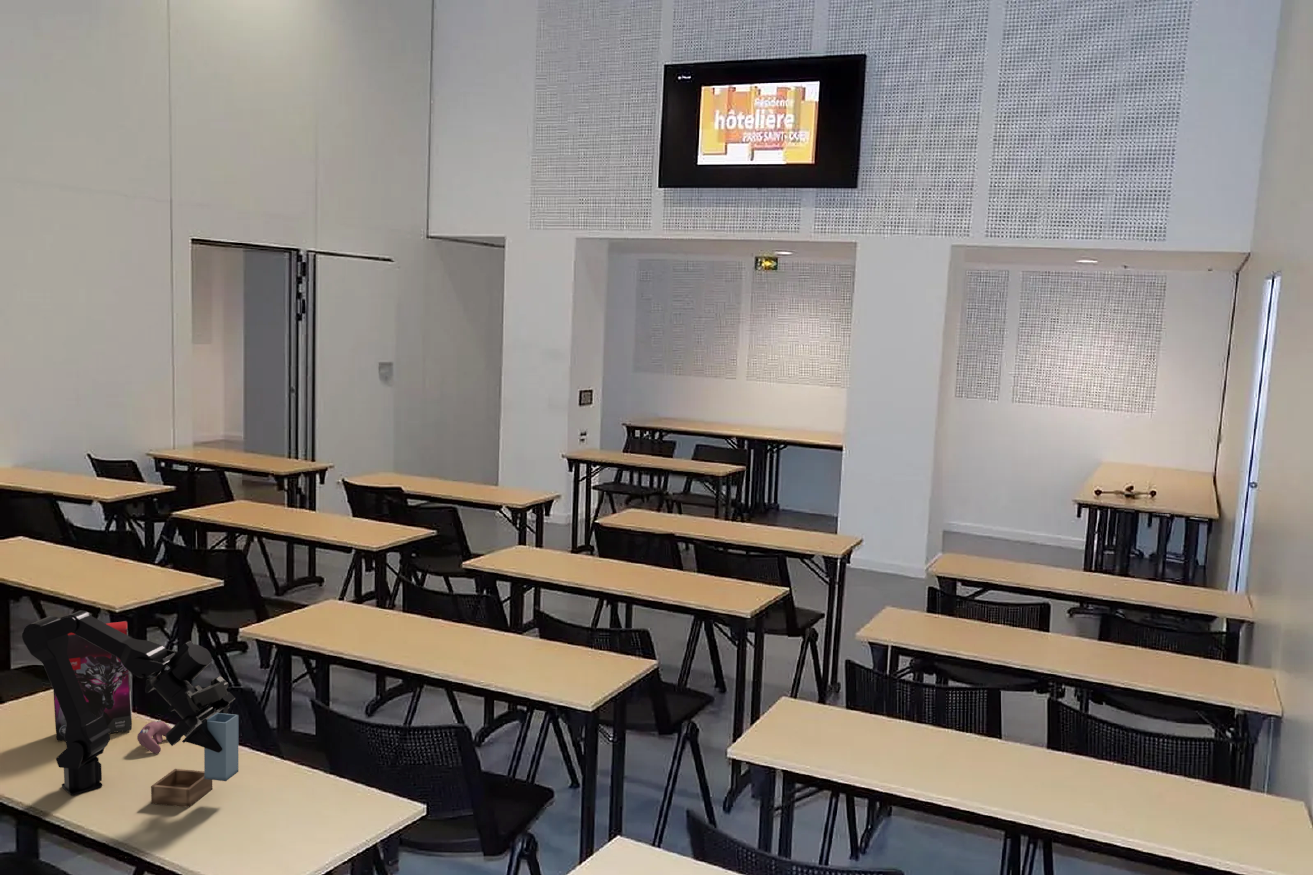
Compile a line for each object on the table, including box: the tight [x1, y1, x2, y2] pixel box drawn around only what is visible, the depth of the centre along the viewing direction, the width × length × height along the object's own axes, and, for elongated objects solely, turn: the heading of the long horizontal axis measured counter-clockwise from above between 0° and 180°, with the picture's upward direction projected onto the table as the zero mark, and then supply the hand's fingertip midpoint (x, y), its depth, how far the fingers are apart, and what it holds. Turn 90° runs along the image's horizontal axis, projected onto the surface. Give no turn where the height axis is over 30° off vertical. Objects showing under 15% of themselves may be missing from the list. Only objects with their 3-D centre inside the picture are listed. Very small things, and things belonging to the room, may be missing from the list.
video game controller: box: [137, 719, 173, 754], centre depth 255 cm, size 10×5×7 cm, turn 179°
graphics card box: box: [52, 620, 133, 742], centre depth 261 cm, size 17×7×27 cm, turn 117°
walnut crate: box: [150, 768, 213, 808], centre depth 229 cm, size 9×9×4 cm
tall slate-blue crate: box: [203, 713, 239, 782], centre depth 227 cm, size 5×5×13 cm
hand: (227, 746), depth 227 cm, fingers closed on tall slate-blue crate, 5 cm apart
